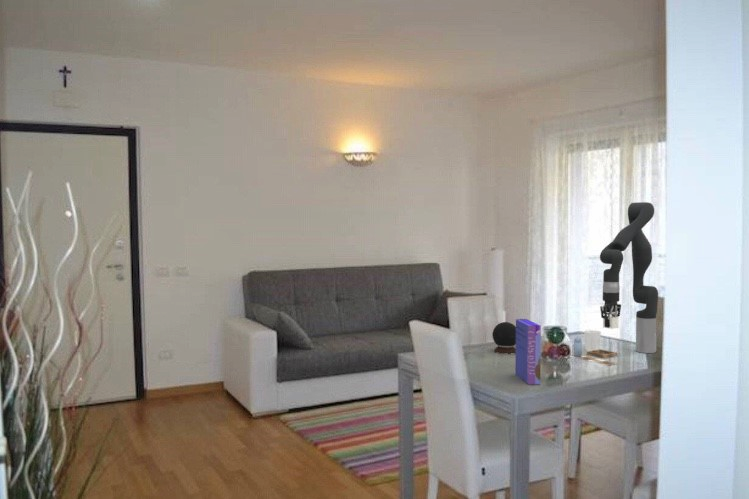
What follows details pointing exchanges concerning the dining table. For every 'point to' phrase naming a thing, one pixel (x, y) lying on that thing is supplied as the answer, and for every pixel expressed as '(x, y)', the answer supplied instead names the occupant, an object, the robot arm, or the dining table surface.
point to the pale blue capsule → (577, 347)
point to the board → (595, 360)
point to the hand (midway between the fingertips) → (610, 326)
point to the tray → (606, 353)
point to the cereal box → (528, 351)
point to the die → (612, 322)
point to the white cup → (592, 340)
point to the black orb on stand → (505, 337)
